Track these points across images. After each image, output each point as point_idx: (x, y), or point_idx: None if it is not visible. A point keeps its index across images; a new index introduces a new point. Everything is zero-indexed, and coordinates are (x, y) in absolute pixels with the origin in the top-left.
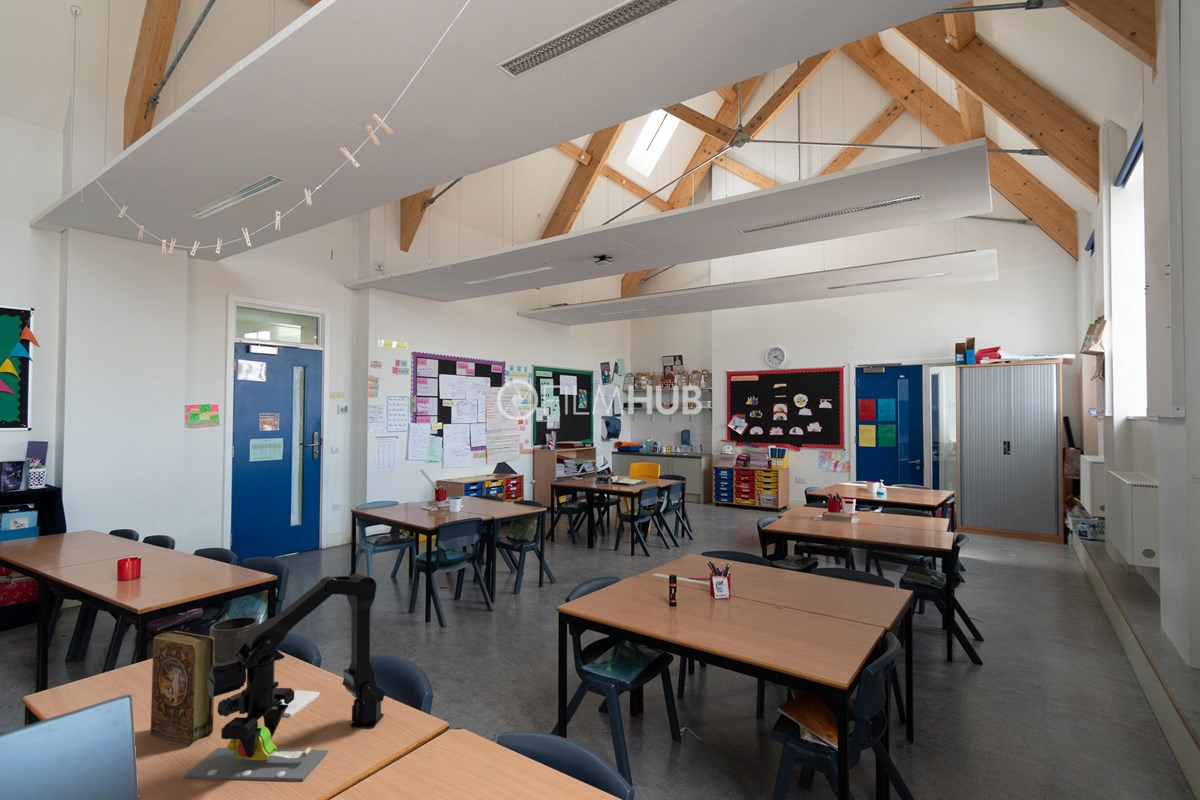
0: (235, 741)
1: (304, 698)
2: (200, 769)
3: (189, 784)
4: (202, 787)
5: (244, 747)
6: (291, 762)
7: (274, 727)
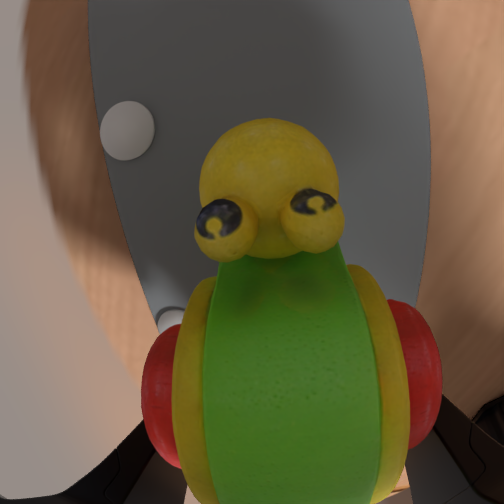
0: (255, 244)
1: None
2: (144, 21)
3: (58, 86)
4: (57, 176)
5: (131, 440)
6: None
7: (407, 467)
